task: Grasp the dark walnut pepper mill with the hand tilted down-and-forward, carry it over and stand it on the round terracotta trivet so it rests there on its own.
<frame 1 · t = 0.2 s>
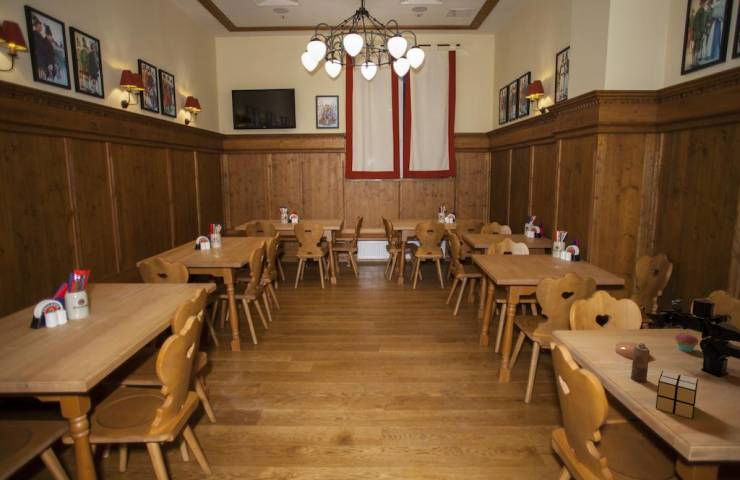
hand: (653, 312, 189), 17 cm above the table, tool horizontal, fingers open, 9 cm apart
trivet: (631, 354, 187), on the table
pepper mill: (638, 379, 164), on the table
cupcake: (685, 350, 190), on the table
puzzle cube: (675, 408, 145), on the table
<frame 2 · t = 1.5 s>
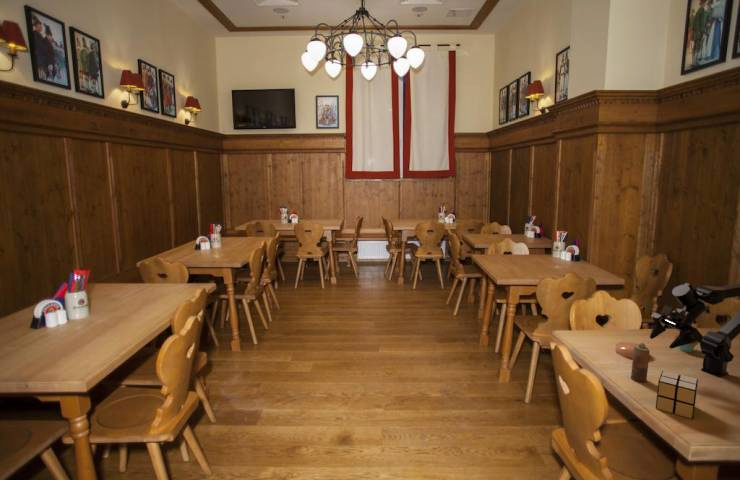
hand: (660, 342, 163), 14 cm above the table, tool tilted 45°, fingers open, 9 cm apart
nothing on the table moved.
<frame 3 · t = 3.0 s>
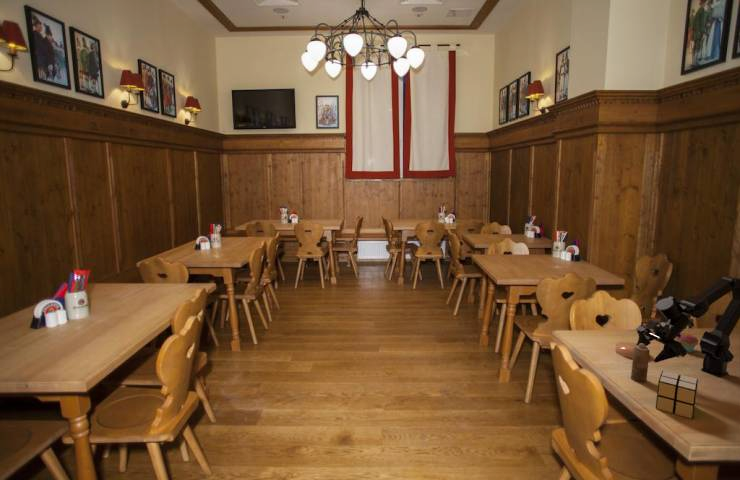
hand: (644, 356, 163), 9 cm above the table, tool tilted 45°, fingers open, 9 cm apart
nothing on the table moved.
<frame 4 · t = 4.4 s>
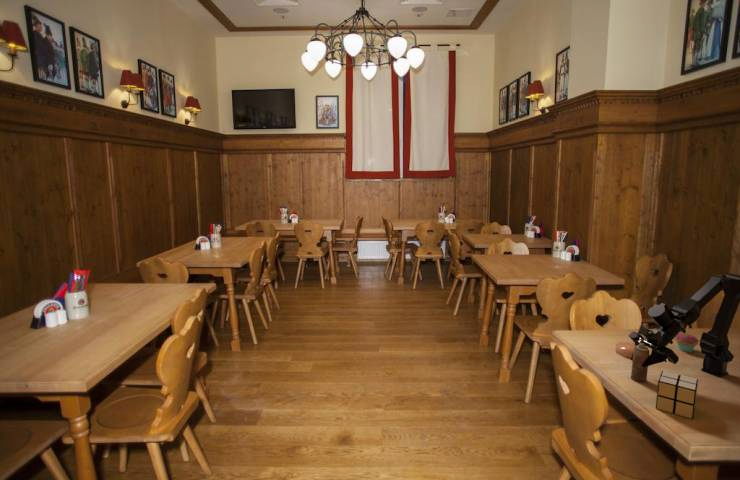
hand: (636, 363, 163), 7 cm above the table, tool tilted 45°, fingers closed on pepper mill, 5 cm apart
pepper mill: (638, 379, 164), on the table, touching gripper
everything else where it was.
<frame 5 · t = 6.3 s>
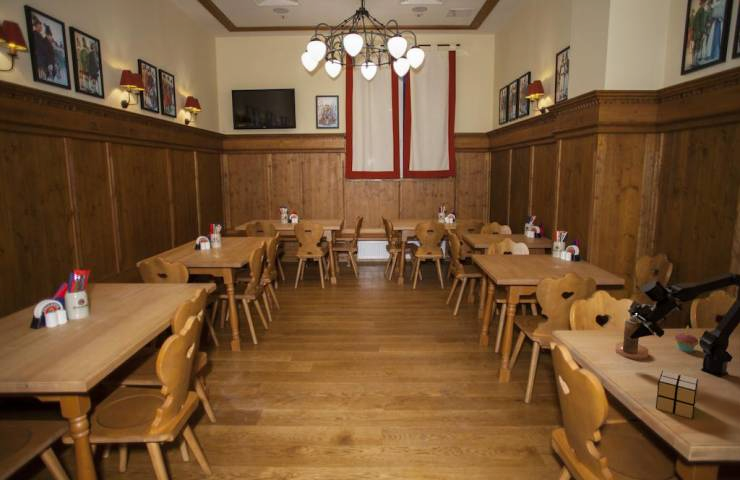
hand: (627, 335, 172), 13 cm above the table, tool tilted 45°, fingers closed on pepper mill, 5 cm apart
pepper mill: (630, 351, 172), point 7 cm above the table, touching gripper
everything else where it was.
when the fingers open (10 cm above the table, at t = 8.3 s): pepper mill drops 1 cm, resting on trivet.
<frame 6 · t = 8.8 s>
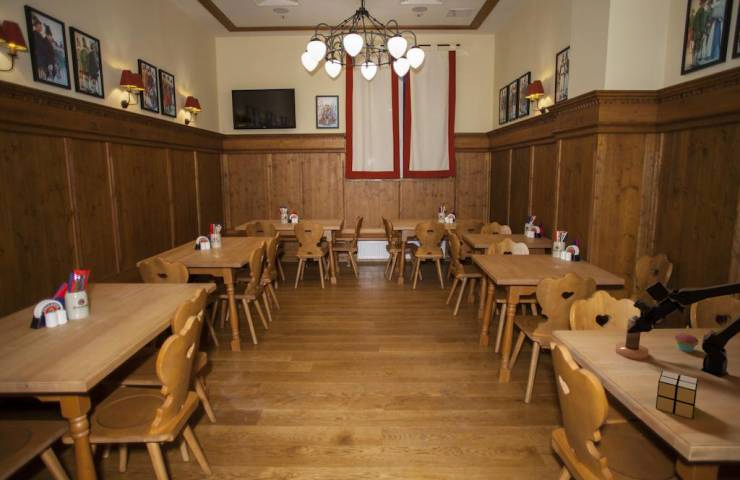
hand: (629, 329, 186), 11 cm above the table, tool tilted 45°, fingers open, 9 cm apart
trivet: (631, 354, 187), on the table, touching pepper mill
pepper mill: (632, 347, 186), point 3 cm above the table, touching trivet
everything else where it was.
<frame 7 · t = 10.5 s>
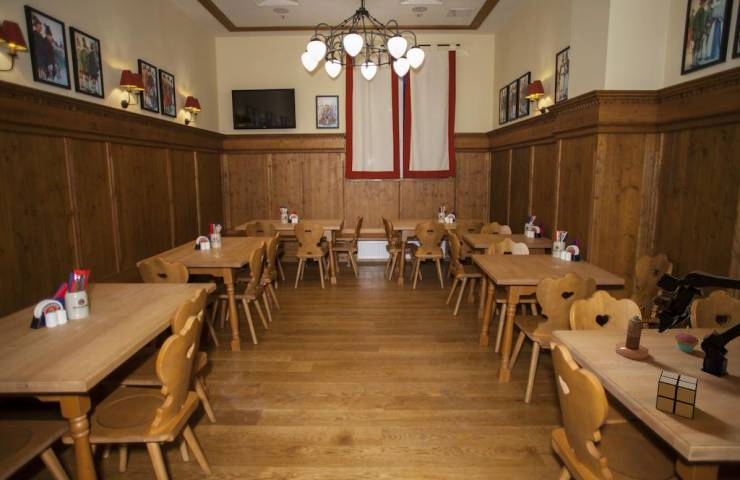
hand: (664, 330, 181), 12 cm above the table, tool tilted 20°, fingers open, 9 cm apart
nothing on the table moved.
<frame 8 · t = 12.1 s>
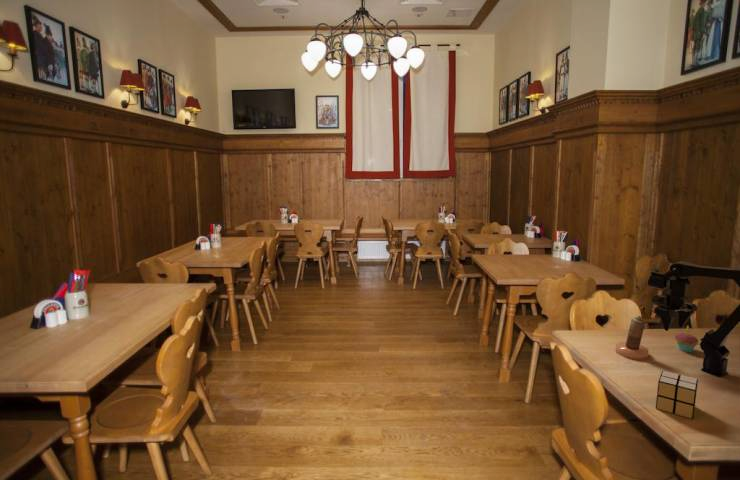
hand: (673, 328, 180), 13 cm above the table, tool pointing down, fingers open, 9 cm apart
nothing on the table moved.
at the end: pepper mill inside the target area on the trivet (0.1 cm from its centre), point 3.2 cm above the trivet's base; pepper mill tilted 4°; the gripper is holding nothing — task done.
